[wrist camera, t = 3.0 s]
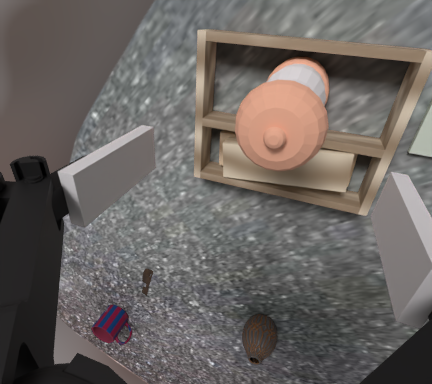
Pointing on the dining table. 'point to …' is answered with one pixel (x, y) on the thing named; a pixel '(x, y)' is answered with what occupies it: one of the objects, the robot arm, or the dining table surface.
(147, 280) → the thin brown sliver
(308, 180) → the upper offcut
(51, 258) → the robot arm
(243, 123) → the salt shaker
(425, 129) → the mat
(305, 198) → the rack
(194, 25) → the dining table surface
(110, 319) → the mug
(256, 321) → the vase
